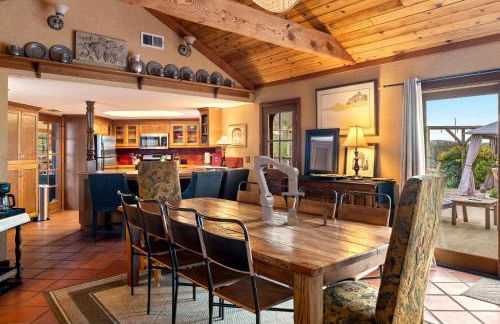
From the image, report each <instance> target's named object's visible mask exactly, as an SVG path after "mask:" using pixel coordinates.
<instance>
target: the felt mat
mask: <svg viewBox="0 0 500 324" xmlns="http://www.w3.org/2000/svg"><path fill="white" fill-rule="evenodd" d="M281 226H282V227H283V226H284V227H302V226H303V222H302V221H300V222H299V221H298V223H297V225H288V221H283V223H282V225H281Z"/></svg>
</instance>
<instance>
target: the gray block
mask: <svg viewBox="0 0 500 324" xmlns="http://www.w3.org/2000/svg"><path fill="white" fill-rule="evenodd" d="M288 216H289V217H292V218H296V216H297V208H293V207H292V208H290V207H289V208H288Z"/></svg>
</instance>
